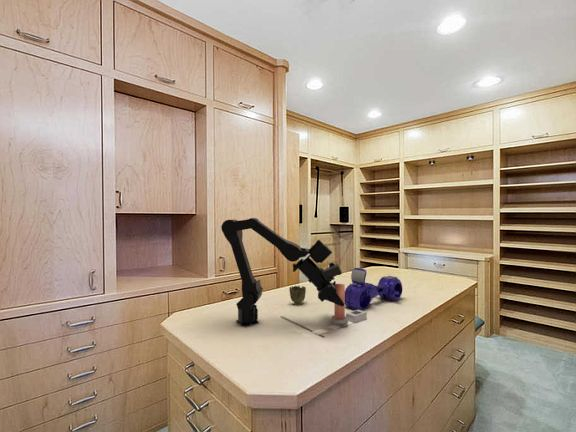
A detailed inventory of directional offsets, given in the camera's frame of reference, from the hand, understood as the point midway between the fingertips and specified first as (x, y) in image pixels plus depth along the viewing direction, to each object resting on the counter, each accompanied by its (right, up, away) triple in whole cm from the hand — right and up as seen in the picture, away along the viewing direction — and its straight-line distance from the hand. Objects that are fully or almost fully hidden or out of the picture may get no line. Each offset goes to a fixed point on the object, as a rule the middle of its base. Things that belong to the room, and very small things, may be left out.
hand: (343, 303), depth 103 cm
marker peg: (-1, -6, 0) cm, 6 cm away
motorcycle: (+19, -9, +27) cm, 35 cm away
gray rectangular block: (+6, -7, +6) cm, 11 cm away
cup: (-15, -9, +26) cm, 31 cm away
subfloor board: (-5, -8, +7) cm, 12 cm away
